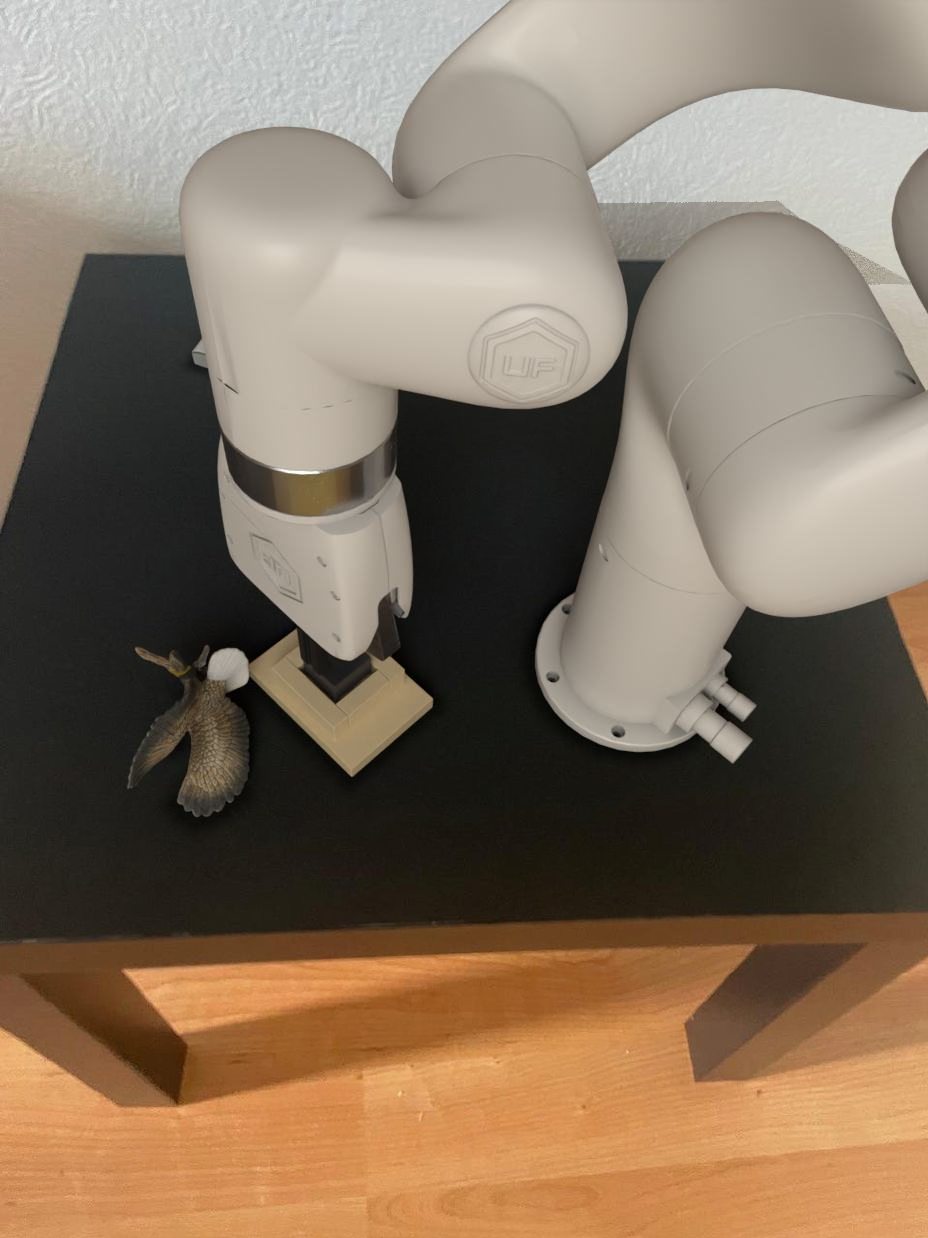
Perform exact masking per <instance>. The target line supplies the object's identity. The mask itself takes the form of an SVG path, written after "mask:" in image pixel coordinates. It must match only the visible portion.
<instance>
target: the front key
mask: <svg viewBox="0 0 928 1238" xmlns="http://www.w3.org/2000/svg"><path fill="white" fill-rule="evenodd" d="M303 665H304V670H305V671H306V672H307V673H308V674H309V675H310V676H311V677H312V678H313V679H314V680H315V681H316V682H317V683H318V684H319V685H320V686H321V687H322V688H323V689H324V690H326V691H327V692H328V693H329V694H330V695H331V696H332V697H333V698H334V699H335V700H337V699H339V698H340V697H341V696H342V695H343V694H345V693H346V692H347V691H348V690H350V689H351V688H352V687H353V686H354V685H356V684H357V683H358V682H359V681H361V680H362V679H363V678H364V677H365V676H367V675H368V674H369V673H370V672H371V671H372V667H371V657H370V656H369V655H368V654H367V653H366V652H364V653H362V654H361V655H359V656H358V657H356V658H355V659H353V660H352V661H347V662H346V663H345V664H344V665H342V666H340V667H336V666H335V665H334V666H333V667H332V668H330V669H329V670H328V671H327V672H325V673H324V674H323V675H320V676H319V675H318V674H317V673H316V672H315V671H314V670H313V668H312V665H311V664H306V663H305V662H304V661H303Z"/></svg>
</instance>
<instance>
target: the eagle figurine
mask: <svg viewBox="0 0 928 1238" xmlns="http://www.w3.org/2000/svg"><path fill="white" fill-rule="evenodd" d="M134 650H135V652H136V653H137V654H138V656H140V657H141V658H142V659H143V660H146V661H149V662H151V663H153V664H156V665H157V666H161V667H164V668H165V669H167V671H168V672H169V673H171V674H173V675H174V676H175V677H177V678H179V682H180V683H181V684H182V685H183V686H184V687H183V690H184V691H183V696H181V699H179V700H176V701H175V702H174V704H173V705H172V706H171V707H170V708H169V709H166V710H165V712H164V714H161V715H158V716H157V717H155V719H154V722H152V723H151V724H150V729H149V730H148V731H147V732H146V735H145V736H144V737H143V739H142V740H141V743H140V744H139V747H138V748H137V751H136V752H135V754H134V756H133V757H132V762H131V765H130V767H129V774H128V778H127V779H128V781H127V784H126V787H127V789H128V790H129V789H133V788H135V787H136V786H137V785H139V783H140V782H141V780H142V779H143V778H144V776H146V774H147V773H148V772H149V771H150V770H151V769H152V768H153V767H154V766H155V765H157V764H158V763H159V762H160V761H162V760H164V759H165V758H166V757H168V755H169V754H171V753H172V752H173V751H174V749H175V748H176V747H177V745H178V744H179V743H180V741H181V740H182V739H183V738H184V736H185V735H186V733H187V732H188V733H189V736H190V743H191V748H190V755H189V760H188V767H187V771H186V774H185V776H184V779H183V781H182V783H181V787H180V789H179V791H178V794H177V798H176V803H178V804H179V805H182V806H183V809H184V811H185V812H192V815H193V816H194V817H196V818H198V817H200V816H203V817H209V816H211V815H212V814H213V812H216V813H218V812H220V811H222V810H223V809H224V807H225V805H226V802H228V803H232V802H234V799H235V797H236V796H239V795H240V794H241V793H242V791H243V790H244V787H245V784H246V782H247V781H248V779H249V775H248V773H250V769H251V767H250V764H249V763H250V757H251V755H250V752H249V749H250V745H249V744H250V738H249V735H250V733H251V732H250V731H251V729H250V728H251V726H250V722H249V720H248V718H247V714H246V711H244V710H243V707H241V706H238V705H237V704H236V703H235V702H233V701H232V700H231V698H230V697H229V696H226V695H227V694H228V693H231V692H232V691H234V690H236V689H238V688H241V687H243V686H245V685H246V684H248V681H249V680H250V676H249V668H248V665H249V664H250V662H249V659H248V658H247V656H246V654H245V652H244V651H243V650H240V649H239V648H236V647H226V648H220V649H218V650H217V651H214V652H213V653H212V654H211V656H210V658H209V661H208V664H207V659H208V655H209V653H210V650H211V648H210V646H209V645H208V644H205V645H204V647H203V650H202V652H201V654H200V655H199V656H198V658H197V659H196V660H195V661H194V662H193V663H192V665H190V664H188V663H186V662H185V661H184V659H183V657H182V656H181V654H180V653H179V651H177V650H174V649H173V650H171V651H170V653H169V657H167V656H163V655H159V654H157V653H153V652H150V651H149V650H147V648H144V647H142V646H138V645H137V646H135V647H134ZM206 664H207V665H206Z"/></svg>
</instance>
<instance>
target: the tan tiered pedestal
mask: <svg viewBox="0 0 928 1238" xmlns="http://www.w3.org/2000/svg"><path fill="white" fill-rule="evenodd" d="M365 652H366V653H367V654H368V655H369V656H370V657H371V667H372V671H371V672H370V673H369V674H368V675H367V676H365V677H364V678H363V679H362V680H361V681H359V682H358V683H357V684H356V685H354V686H353V687H352V688H351V689H350V690H348V691H347V692H346V693H345V694H343V695H342V696H341V697H340V698H339V699H337V700H335V699H334V698H333V697H332V696H331V695H330V694H329V693H328V692H327V691H326V690H324V689H323V688H322V687H321V686H320V685H319V684H318V683H317V682H316V681H315V680H314V679H313V678H312V677H311V676H310V675H309V674H308V673H307V672H306V671H305V670H304V665H303V660H302V659H301V656H300V649H299V641H298V634H297V628H295V629H294V630H293V631H291V632H290V633H288V635H287V634H286V636H285V637H283V638H281V639H280V641H278V642H277V643H275V644H274V645H272V646H271V647H270V648H269V649H267V650H266V651H265V652H263V653H262V654H261V655H259V656H258V657H256V659H254V660H253V661H251V662H249V664H248V668H249V678H251V679H252V680H253V681H254V682H255V683H256V684H257V685H258V686H259V687H260V688H261V689H262V690H263V691H264V692H265V693H266V694H267V695H268V696H269V697H270V698H271V699H272V700H273V701H274V702H275V703H276V704H277V705H278V706H279V707H280V708H281V709H282V710H283V711H284V712H285V713H286V714H287V715H288V716H289V717H291V719H292V720H293V721H294V722H295V723H296V724H297V725H298V726H299V727H300V728H301V729H303V731H304V732H306V734H307V735H309V737H310V738H311V739H312V740H313V741H314V742H315V743H316V744H317V745H318V746H320V748H322V749H323V751H325V752H326V753H327V755H329V756H330V758H332V760H334V761H335V762H336V763H337V764H338V765H339V766H340V767H341V769H343V770H344V771H345V772H346V773H347V774H348V775H349V776H350V777H354V776H356V775H357V774H358V773H359V772H360V771H361V770H362V769H363V768H365V766H367V765H368V764H369V763H370V762H371V761H372V760H374V759H375V758H376V757H378V755H380V754H381V752H383V751H384V750H385V749H386V748H387V747H389V746H390V745H391V744H392V743H393V742H394V741H395V740H397V739H398V738H399V737H400V736H401V735H402V734H403V733H404V732H406V731H407V730H408V729H409V728H411V726H412V725H414V724H415V723H416V722H417V721H419V719H421V718H422V717H423V716H424V715H425V714H426V713H428V712H429V711H430V710H431V709H433V704H434V698H433V697H432V696H431V695H430V694H428V692H427V691H425V690H424V689H423V688H422V687H421V686H420V685H419V684H417V682H416V681H414V680H413V679H412V677H409V675H408V674H407V673H406V672H405V671H406V669H405V668H404V667H402V666H401V664H399V663H398V662H397V661H396V660H395V659H394V658H393V657H392V656H389V657H388V658H387V659H386V660H385V661H380V660H379V659H377V658H376V657H374V656H373V655H372V654H370V653H369V652H368V651H365Z"/></svg>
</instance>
